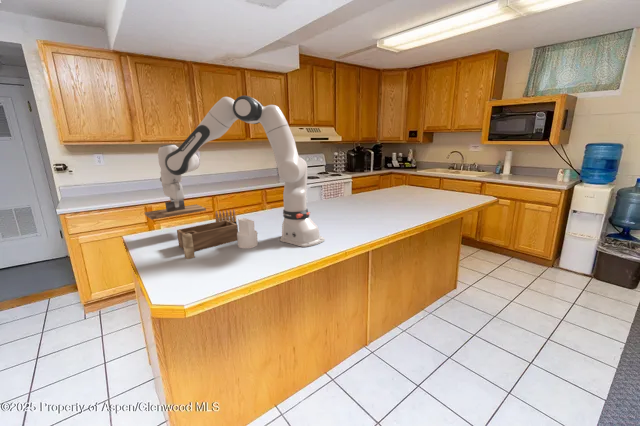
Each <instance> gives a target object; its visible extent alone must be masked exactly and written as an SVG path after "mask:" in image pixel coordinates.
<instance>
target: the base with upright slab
mask: <svg viewBox="0 0 640 426" xmlns="http://www.w3.org/2000/svg"><path fill="white" fill-rule="evenodd" d="M237 224H238V233H237V241H236V242H237V247H238V248H240V249H252V248H256V247H257V246H258V245H259V243H258V242H259V241H258V231H257V230H255V220H252V219H249V218H245V217H241V218H238V219H237Z"/></svg>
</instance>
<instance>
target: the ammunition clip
mask: <svg viewBox="0 0 640 426" xmlns="http://www.w3.org/2000/svg"><path fill="white" fill-rule="evenodd" d="M223 220H228V221H230V222H233V223H235V224H237V225H238V221H237V216H236V211H235V209H234V208H233V210H232V209H229V211H228V209H226V211H225V210H222V212H221V210H219V212H218V211H217V210H216V211H215V222H218V221H223Z"/></svg>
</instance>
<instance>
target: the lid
mask: <svg viewBox="0 0 640 426" xmlns="http://www.w3.org/2000/svg"><path fill="white" fill-rule="evenodd" d="M164 203H165V208H164V209H157V210H152V211H144V215H145V216H146V217H147V218H149V219H150V220H151V221H154V220H158V219H165V218H170V217H171V218H172V217H177V216H182V215H188V214H194V213H198V212H206V211H207V208H206V207H204V206H202V205H199V204H197V203H196V204H191V205H189V204H188V205H185V200H184V199H183V200H179V207H174V201H171V200H170V201H165V202H164Z"/></svg>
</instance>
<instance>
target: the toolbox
mask: <svg viewBox="0 0 640 426" xmlns="http://www.w3.org/2000/svg"><path fill="white" fill-rule="evenodd" d="M222 220H223V219H222ZM238 232H239V224H238V223H237V224H235V223H233V222H230V220H229V221H228V220H223V221H218V222H216V221H214V222H209V223H204V224H199V225H193V226H189V227H185V228H179V229H176V234H177V235H176V236H177V241H178V247H179V248H181V250H183V251H184V247H183V240H182V235H183V234H187V233H190V234H192V240H193V247H194V253H195V252H199V251H203V250H206V249H210V248H214V247H218V246H222V245H225V244H230V243H234V242H238V241H237V233H238Z"/></svg>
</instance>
